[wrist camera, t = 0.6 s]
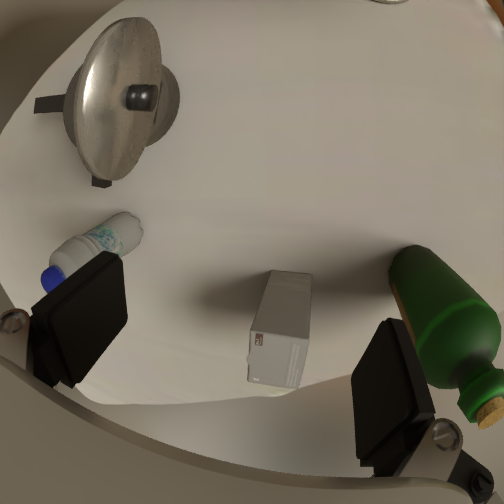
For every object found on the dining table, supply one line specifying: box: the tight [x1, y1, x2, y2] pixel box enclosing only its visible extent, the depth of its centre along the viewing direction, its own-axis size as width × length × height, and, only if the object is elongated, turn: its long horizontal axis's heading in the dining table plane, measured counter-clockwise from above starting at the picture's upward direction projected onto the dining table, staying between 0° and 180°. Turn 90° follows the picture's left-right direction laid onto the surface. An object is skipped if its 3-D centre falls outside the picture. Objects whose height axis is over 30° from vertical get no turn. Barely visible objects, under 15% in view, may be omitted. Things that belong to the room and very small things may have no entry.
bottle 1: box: [41, 212, 143, 293], centre depth 34 cm, size 7×7×20 cm
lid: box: [73, 17, 162, 181], centre depth 19 cm, size 15×15×3 cm
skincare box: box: [247, 270, 312, 389], centre depth 36 cm, size 8×7×16 cm
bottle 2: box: [388, 245, 504, 429], centre depth 26 cm, size 11×11×28 cm
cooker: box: [34, 64, 180, 188], centre depth 31 cm, size 23×24×9 cm
